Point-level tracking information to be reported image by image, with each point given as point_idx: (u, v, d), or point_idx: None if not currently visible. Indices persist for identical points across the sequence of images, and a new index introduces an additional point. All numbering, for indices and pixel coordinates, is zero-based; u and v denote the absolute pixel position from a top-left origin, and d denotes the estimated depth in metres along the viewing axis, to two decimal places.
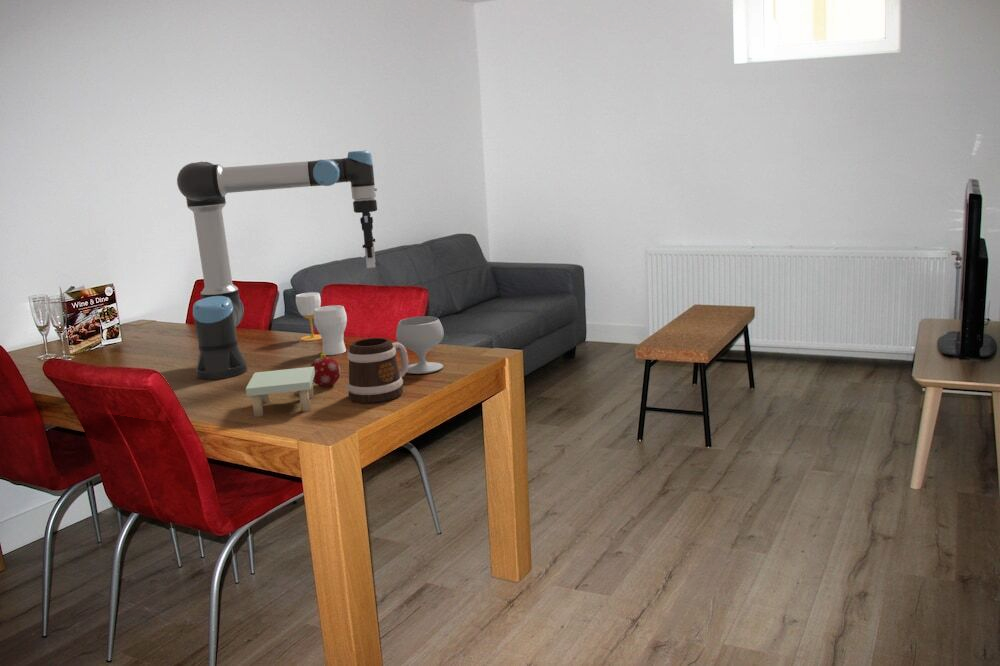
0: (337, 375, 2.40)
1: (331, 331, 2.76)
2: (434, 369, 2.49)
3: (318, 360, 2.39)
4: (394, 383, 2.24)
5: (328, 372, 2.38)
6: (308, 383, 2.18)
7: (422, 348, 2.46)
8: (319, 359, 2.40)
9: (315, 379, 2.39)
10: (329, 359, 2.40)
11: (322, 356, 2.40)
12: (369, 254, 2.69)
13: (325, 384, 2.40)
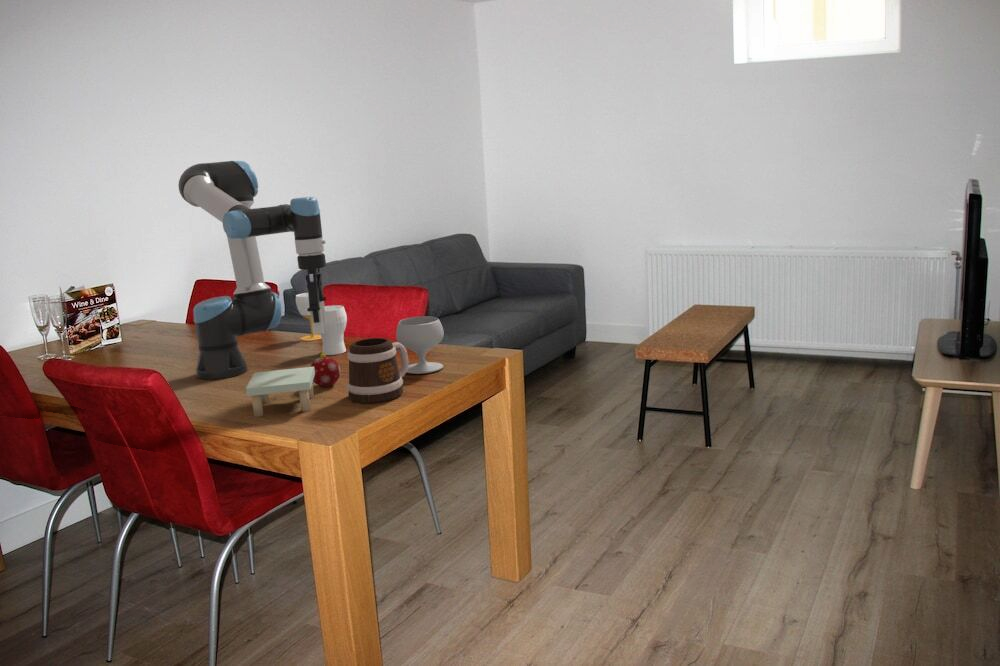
0: (337, 375, 2.40)
1: (331, 331, 2.76)
2: (434, 369, 2.49)
3: (318, 360, 2.39)
4: (394, 383, 2.24)
5: (328, 372, 2.38)
6: (308, 383, 2.18)
7: (422, 348, 2.46)
8: (319, 359, 2.40)
9: (315, 379, 2.39)
10: (329, 359, 2.40)
11: (322, 356, 2.40)
12: (315, 319, 2.30)
13: (325, 384, 2.40)
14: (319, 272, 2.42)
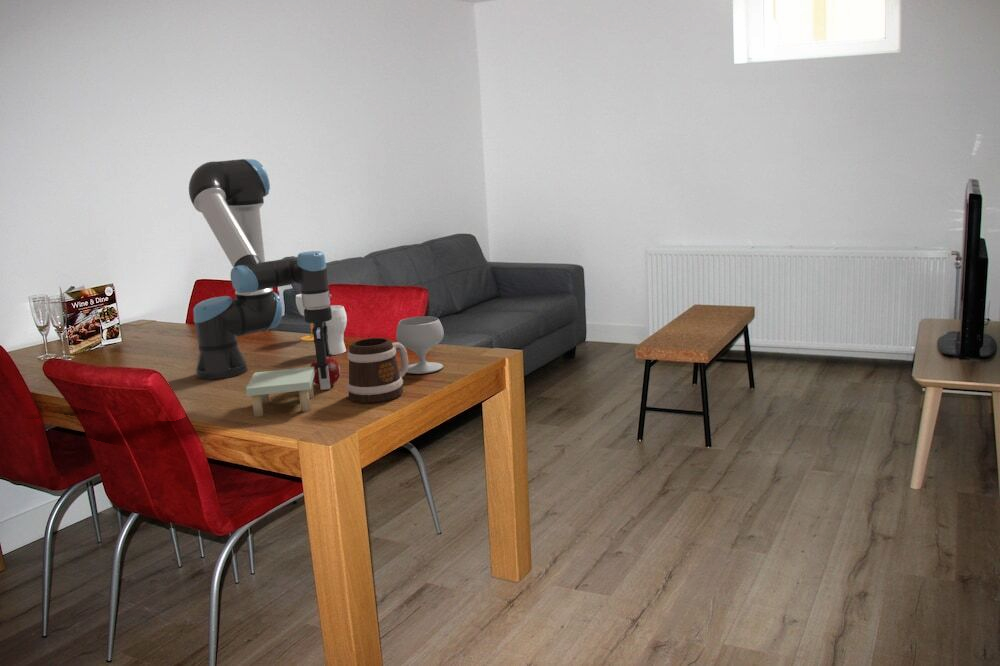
0: (337, 375, 2.40)
1: (331, 331, 2.76)
2: (434, 369, 2.49)
3: None
4: (394, 383, 2.24)
5: None
6: (308, 383, 2.18)
7: (422, 348, 2.46)
8: None
9: (315, 379, 2.39)
10: (329, 359, 2.40)
11: None
12: (323, 375, 2.36)
13: None
14: None
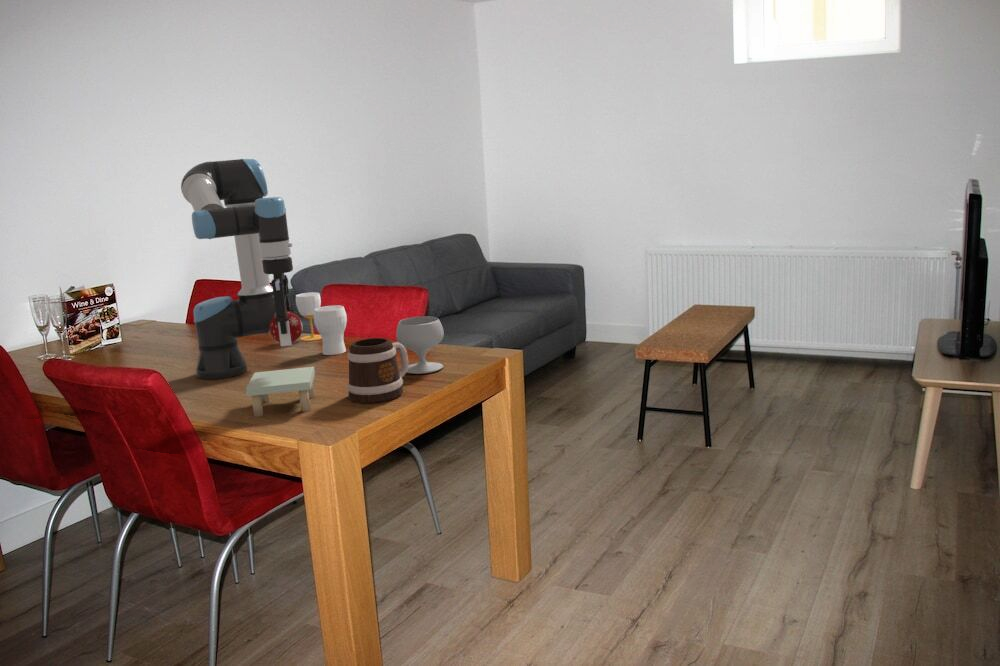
0: (299, 331, 2.24)
1: (331, 331, 2.76)
2: (434, 369, 2.49)
3: None
4: (394, 383, 2.24)
5: (289, 327, 2.21)
6: (308, 383, 2.18)
7: (422, 348, 2.46)
8: None
9: (275, 335, 2.22)
10: (290, 314, 2.24)
11: None
12: (283, 330, 2.19)
13: None
14: None
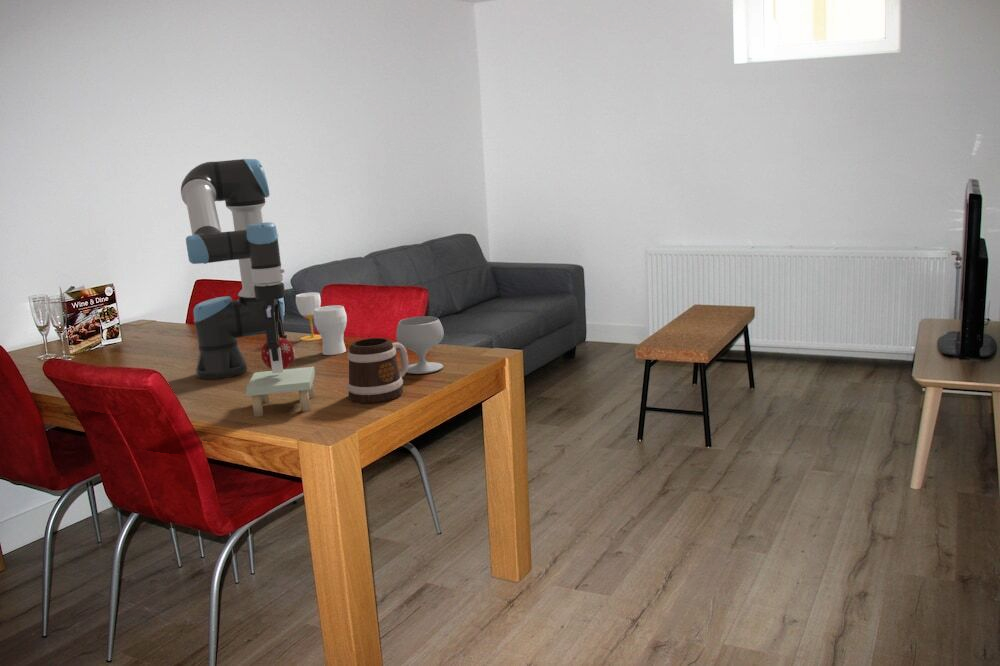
0: (291, 357, 2.22)
1: (331, 331, 2.76)
2: (434, 369, 2.49)
3: None
4: (394, 383, 2.24)
5: (281, 354, 2.19)
6: (308, 383, 2.18)
7: (422, 348, 2.46)
8: None
9: (267, 362, 2.20)
10: (282, 340, 2.21)
11: None
12: (274, 357, 2.17)
13: None
14: None
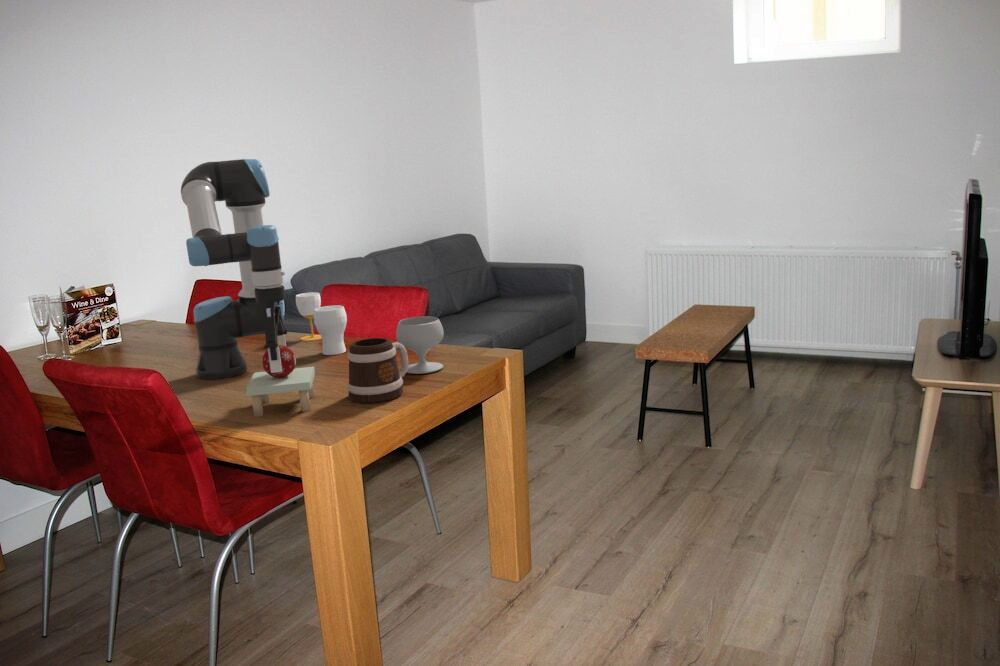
0: (292, 365, 2.22)
1: (331, 331, 2.76)
2: (434, 369, 2.49)
3: None
4: (394, 383, 2.24)
5: (282, 362, 2.20)
6: (308, 383, 2.18)
7: (422, 348, 2.46)
8: None
9: (268, 370, 2.20)
10: (283, 348, 2.22)
11: None
12: (273, 356, 2.15)
13: (279, 375, 2.21)
14: (279, 304, 2.27)
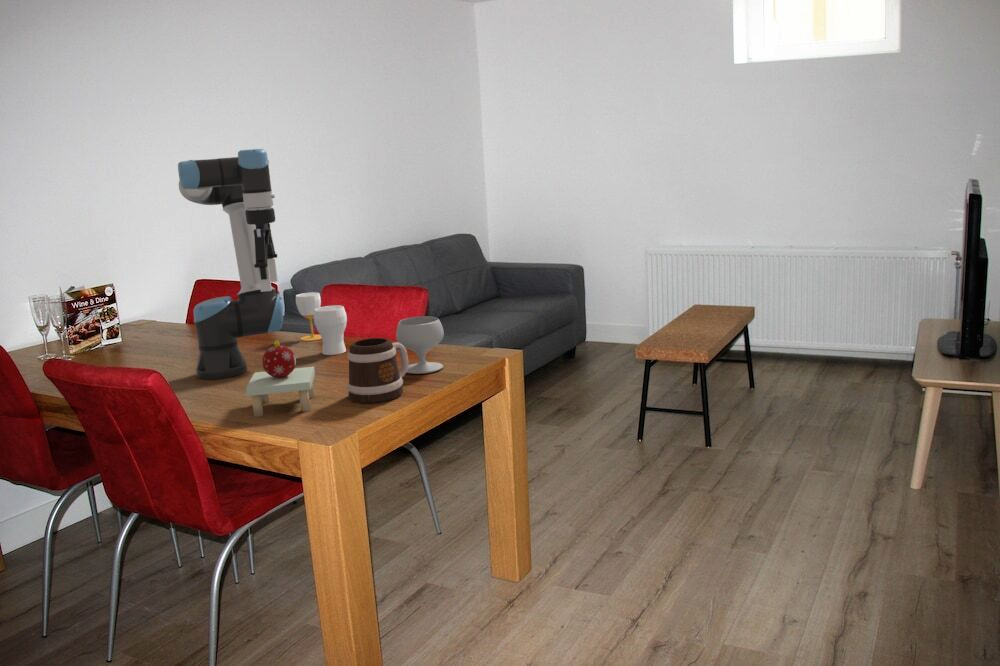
0: (292, 365, 2.22)
1: (331, 331, 2.76)
2: (434, 369, 2.49)
3: (271, 349, 2.21)
4: (394, 383, 2.24)
5: (282, 362, 2.20)
6: (308, 383, 2.18)
7: (422, 348, 2.46)
8: (272, 348, 2.21)
9: (268, 370, 2.20)
10: (283, 348, 2.22)
11: (276, 345, 2.22)
12: (263, 275, 2.23)
13: (279, 375, 2.21)
14: None
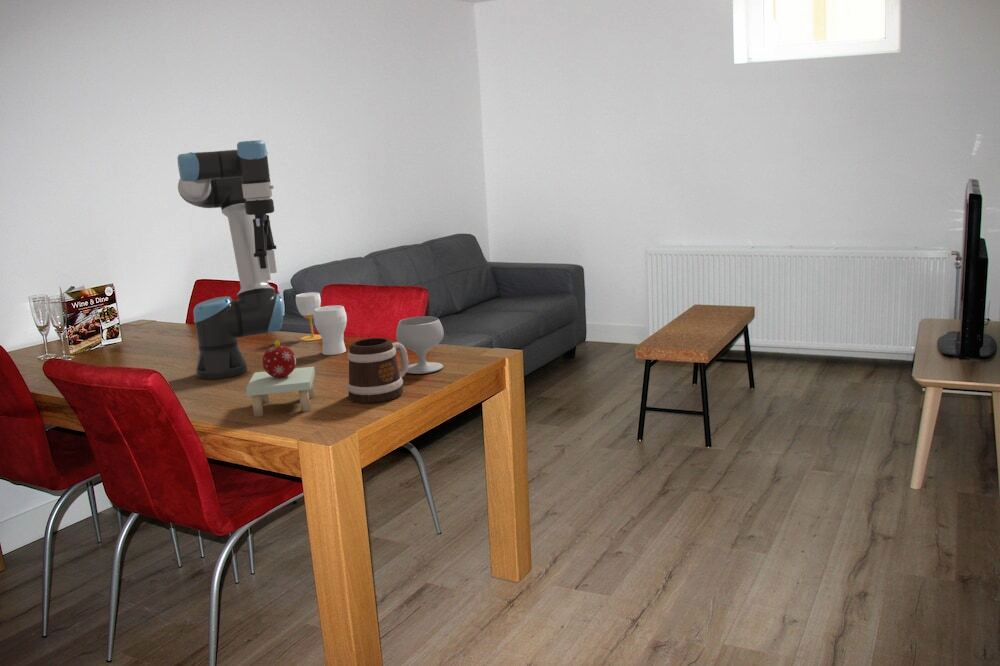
0: (292, 365, 2.22)
1: (331, 331, 2.76)
2: (434, 369, 2.49)
3: (271, 349, 2.21)
4: (394, 383, 2.24)
5: (282, 362, 2.20)
6: (308, 383, 2.18)
7: (422, 348, 2.46)
8: (272, 348, 2.21)
9: (268, 370, 2.20)
10: (283, 348, 2.22)
11: (276, 345, 2.22)
12: (262, 264, 2.25)
13: (279, 375, 2.21)
14: None
